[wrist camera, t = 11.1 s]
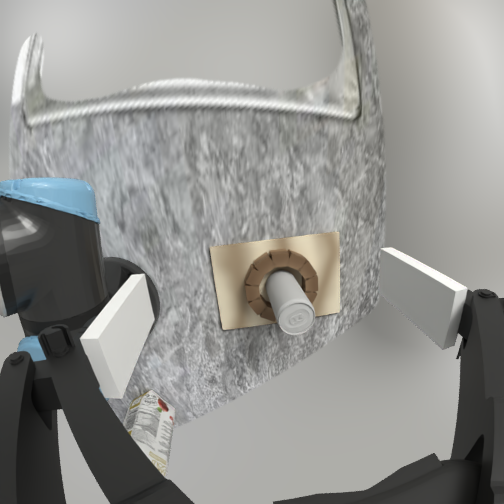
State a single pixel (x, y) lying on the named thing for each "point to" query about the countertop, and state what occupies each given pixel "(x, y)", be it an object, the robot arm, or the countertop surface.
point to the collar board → (267, 262)
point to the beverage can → (289, 303)
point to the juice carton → (151, 427)
